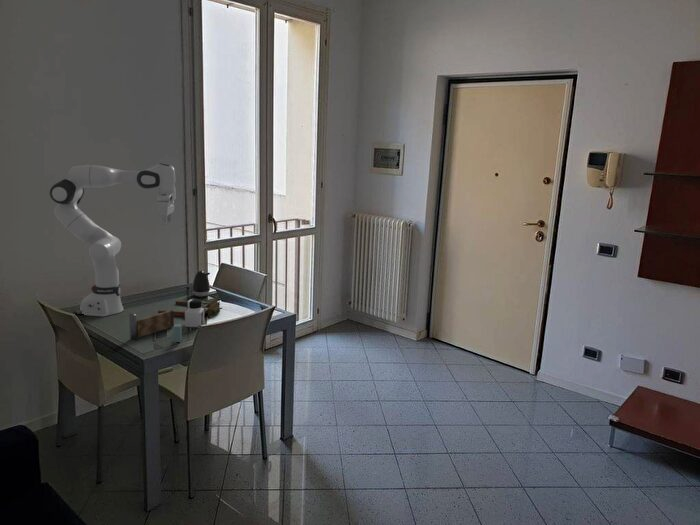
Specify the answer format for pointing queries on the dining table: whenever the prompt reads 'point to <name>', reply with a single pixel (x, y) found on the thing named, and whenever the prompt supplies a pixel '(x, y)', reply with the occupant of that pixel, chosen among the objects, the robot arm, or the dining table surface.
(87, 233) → the robot arm
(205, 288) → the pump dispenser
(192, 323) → the container
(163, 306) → the dining table surface
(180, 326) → the latch post
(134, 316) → the hinge post
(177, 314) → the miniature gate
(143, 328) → the gate
